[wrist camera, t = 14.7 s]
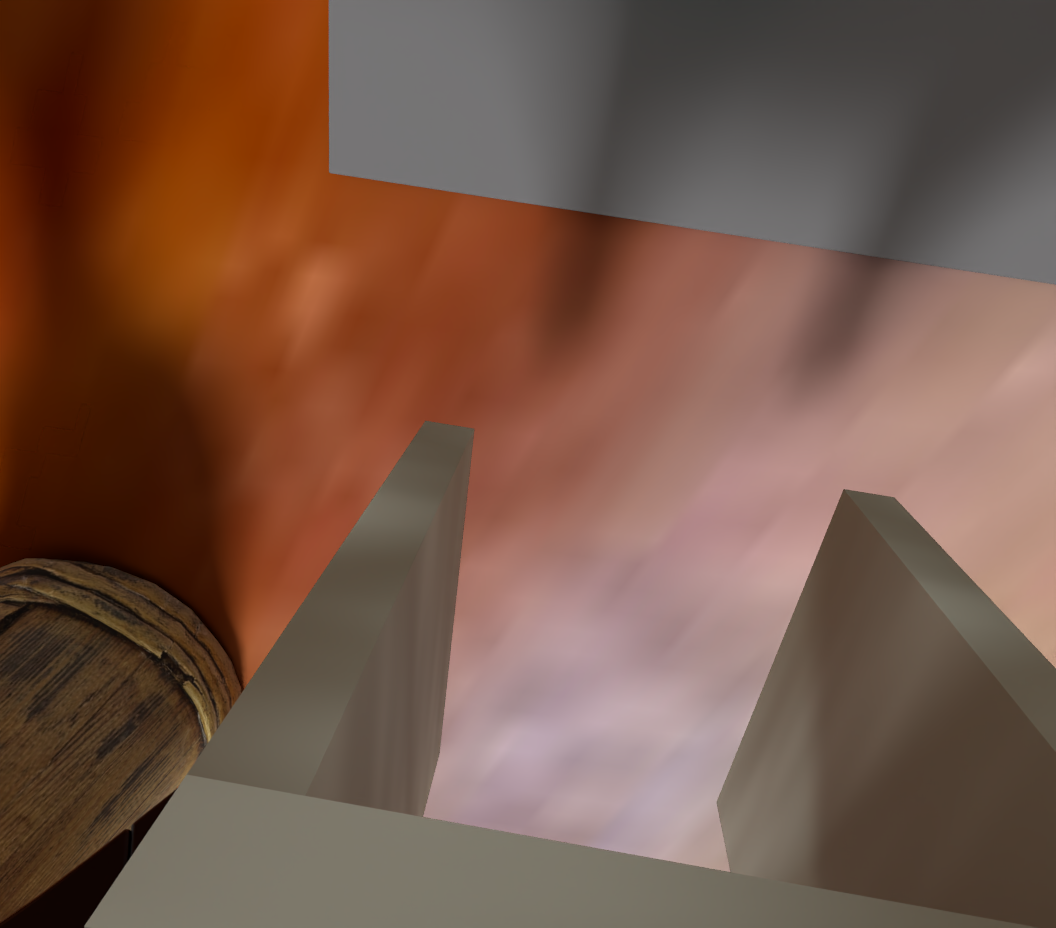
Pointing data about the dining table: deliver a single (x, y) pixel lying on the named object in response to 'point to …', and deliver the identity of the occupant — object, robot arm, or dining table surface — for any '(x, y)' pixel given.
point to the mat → (722, 116)
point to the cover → (596, 874)
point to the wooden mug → (94, 711)
